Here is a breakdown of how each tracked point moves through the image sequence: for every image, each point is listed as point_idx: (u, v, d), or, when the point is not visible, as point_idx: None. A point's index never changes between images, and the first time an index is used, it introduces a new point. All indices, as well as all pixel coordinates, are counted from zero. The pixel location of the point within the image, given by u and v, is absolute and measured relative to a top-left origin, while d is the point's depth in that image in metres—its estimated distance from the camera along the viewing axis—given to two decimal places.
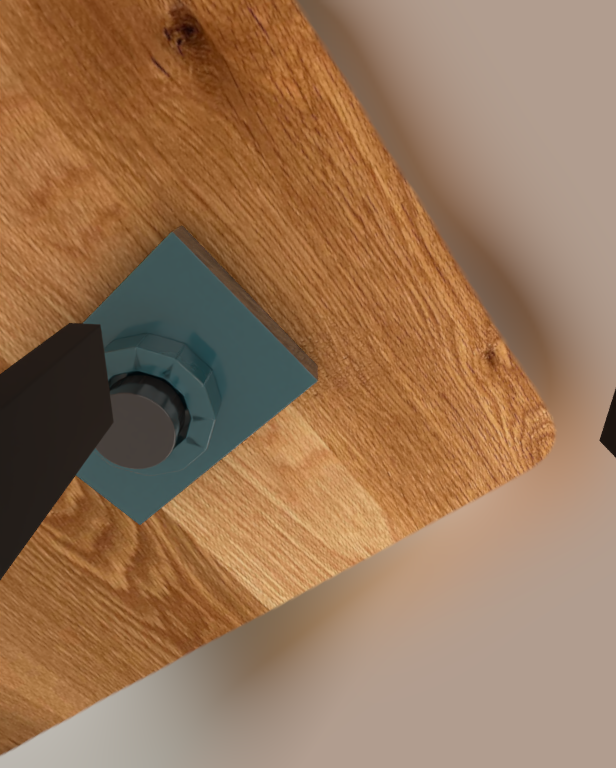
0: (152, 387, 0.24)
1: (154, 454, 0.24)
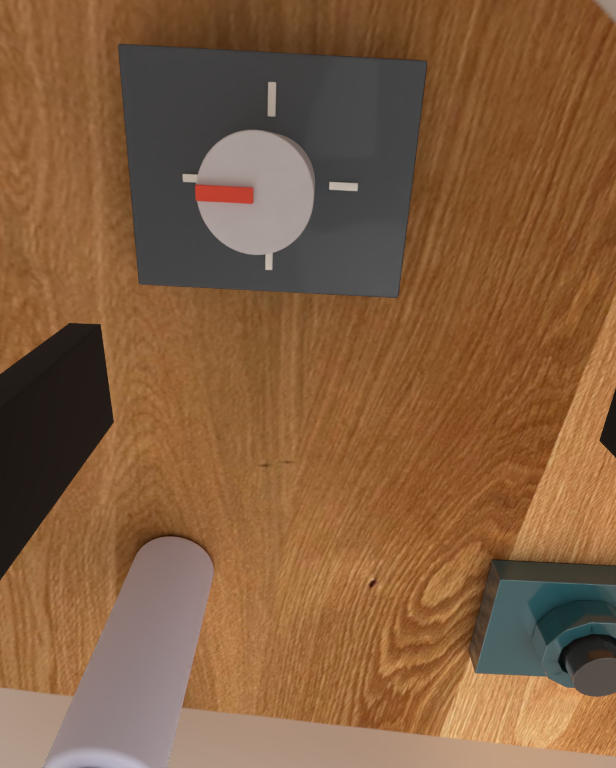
0: None
1: (595, 691, 0.37)
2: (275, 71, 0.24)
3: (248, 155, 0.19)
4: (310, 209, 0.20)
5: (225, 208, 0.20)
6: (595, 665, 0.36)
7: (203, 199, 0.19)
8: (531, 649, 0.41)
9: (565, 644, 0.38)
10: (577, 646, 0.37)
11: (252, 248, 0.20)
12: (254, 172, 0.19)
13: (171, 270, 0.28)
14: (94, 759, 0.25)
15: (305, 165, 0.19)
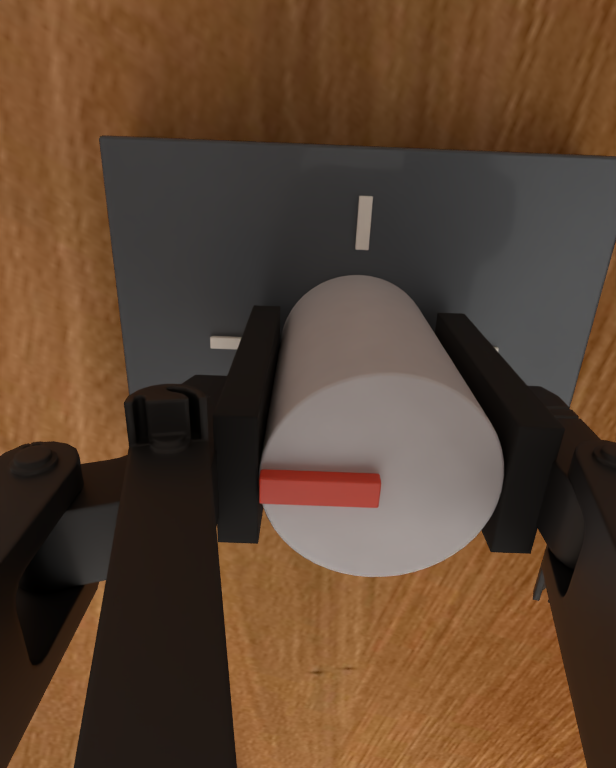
0: None
1: None
2: (372, 177, 0.14)
3: (373, 419, 0.09)
4: (493, 508, 0.10)
5: (317, 506, 0.10)
6: None
7: (274, 498, 0.09)
8: None
9: None
10: None
11: (367, 568, 0.10)
12: (383, 447, 0.09)
13: None
14: None
15: (494, 435, 0.09)
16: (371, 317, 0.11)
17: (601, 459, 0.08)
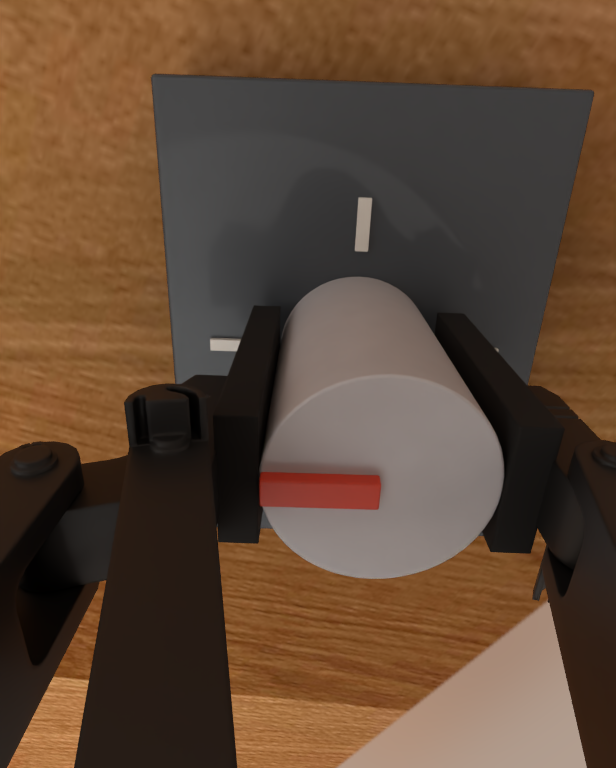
0: None
1: None
2: (510, 358, 0.16)
3: (373, 421, 0.09)
4: (493, 509, 0.10)
5: (318, 509, 0.10)
6: None
7: (275, 501, 0.09)
8: None
9: None
10: None
11: (368, 570, 0.10)
12: (383, 448, 0.09)
13: (189, 155, 0.14)
14: None
15: (493, 436, 0.09)
16: (370, 319, 0.11)
17: (601, 460, 0.08)
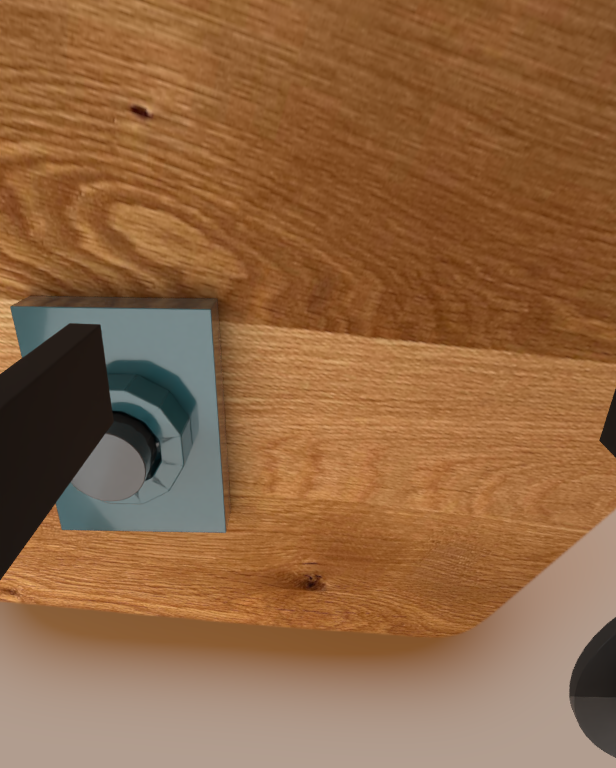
0: None
1: None
2: None
3: None
4: None
5: None
6: (126, 454, 0.25)
7: None
8: None
9: (132, 413, 0.26)
10: (136, 428, 0.26)
11: None
12: None
13: None
14: None
15: None
16: None
17: None
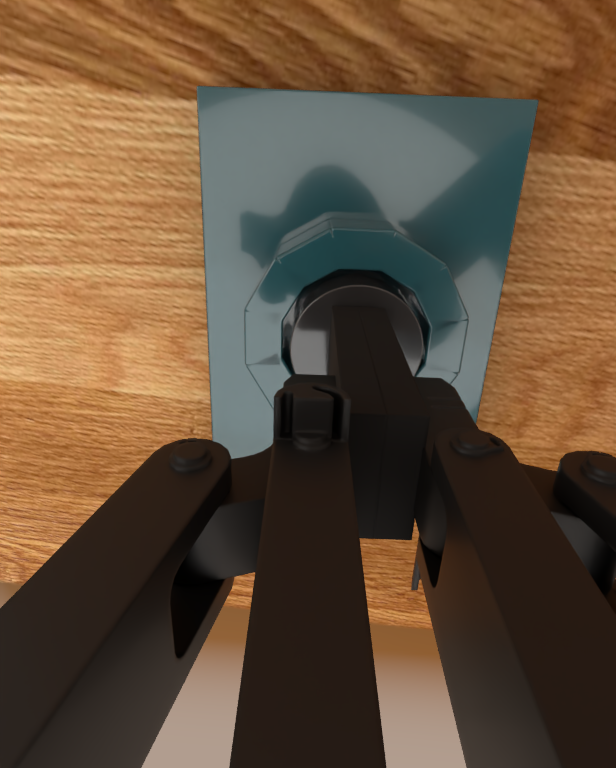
0: None
1: (307, 346, 0.16)
2: None
3: None
4: None
5: None
6: (398, 326, 0.15)
7: None
8: (297, 226, 0.17)
9: (398, 274, 0.15)
10: (399, 292, 0.16)
11: None
12: None
13: None
14: None
15: None
16: None
17: (457, 448, 0.08)
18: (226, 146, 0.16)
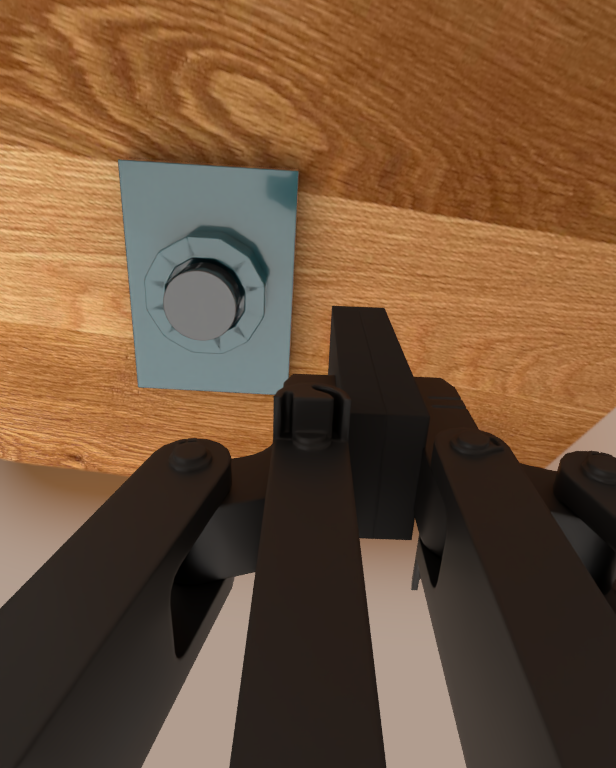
0: None
1: (172, 303, 0.29)
2: None
3: None
4: None
5: None
6: (220, 293, 0.28)
7: None
8: (176, 234, 0.31)
9: (224, 261, 0.29)
10: (227, 275, 0.29)
11: None
12: None
13: None
14: None
15: None
16: None
17: (458, 448, 0.08)
18: (135, 190, 0.30)
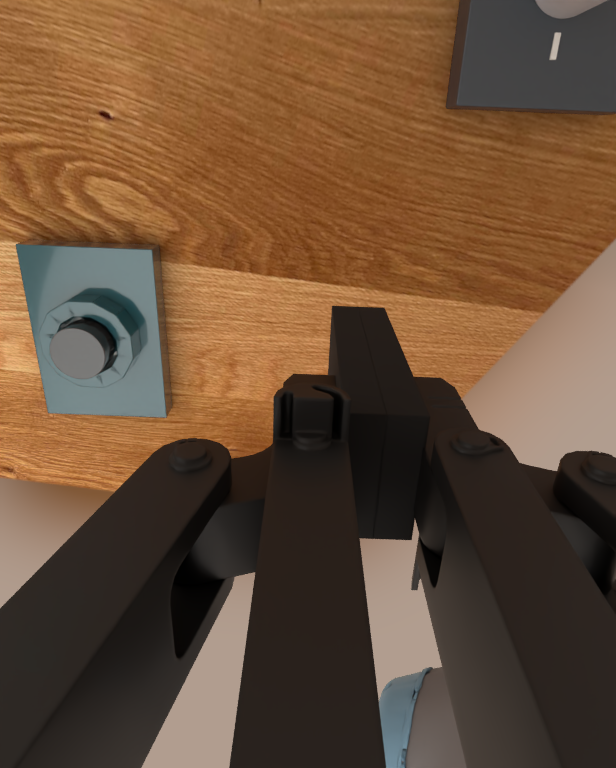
0: None
1: (56, 352, 0.38)
2: None
3: None
4: None
5: None
6: (91, 344, 0.38)
7: None
8: (65, 297, 0.40)
9: (97, 319, 0.39)
10: (99, 329, 0.39)
11: None
12: None
13: None
14: None
15: None
16: None
17: (458, 448, 0.08)
18: (30, 266, 0.39)
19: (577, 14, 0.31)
